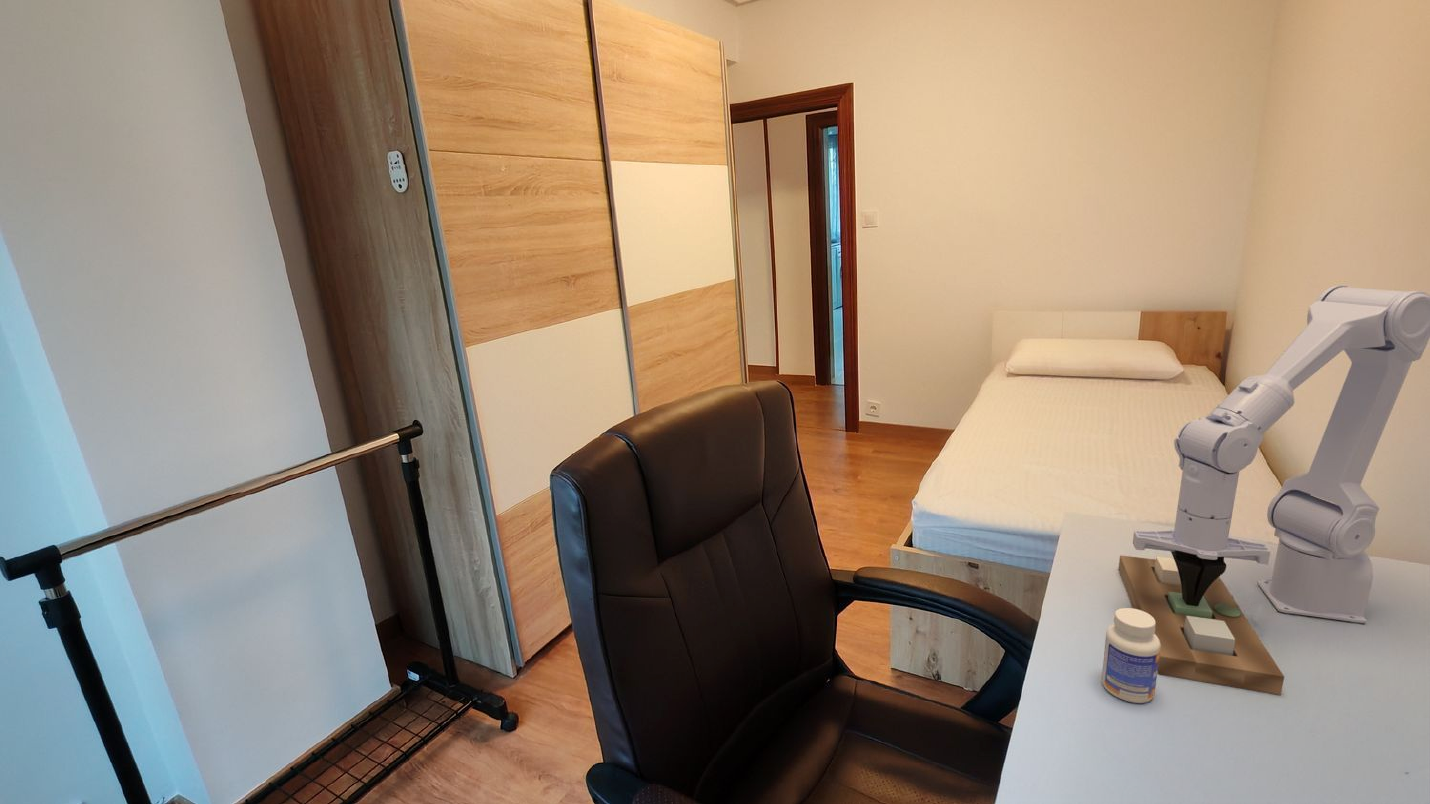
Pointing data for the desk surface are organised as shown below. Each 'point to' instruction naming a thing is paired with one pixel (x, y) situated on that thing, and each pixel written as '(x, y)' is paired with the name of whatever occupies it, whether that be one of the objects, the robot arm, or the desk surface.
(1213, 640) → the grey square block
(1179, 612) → the sage button
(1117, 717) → the desk surface
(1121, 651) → the pill bottle
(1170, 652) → the brown wooden slotted board
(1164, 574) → the cream button
